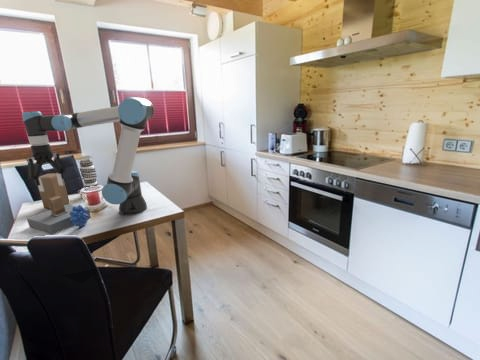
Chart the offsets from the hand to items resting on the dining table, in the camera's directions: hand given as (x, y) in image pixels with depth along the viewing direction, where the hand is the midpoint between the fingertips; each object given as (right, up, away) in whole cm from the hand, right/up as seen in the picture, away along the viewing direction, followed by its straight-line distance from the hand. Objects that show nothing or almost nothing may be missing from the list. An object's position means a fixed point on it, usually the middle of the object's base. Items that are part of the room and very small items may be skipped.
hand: (51, 188), depth 130 cm
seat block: (+1, -18, +6) cm, 19 cm away
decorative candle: (-7, -6, +48) cm, 49 cm away
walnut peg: (+1, -18, +6) cm, 19 cm away
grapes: (+17, -20, 0) cm, 26 cm away
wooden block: (-19, -12, +30) cm, 37 cm away
